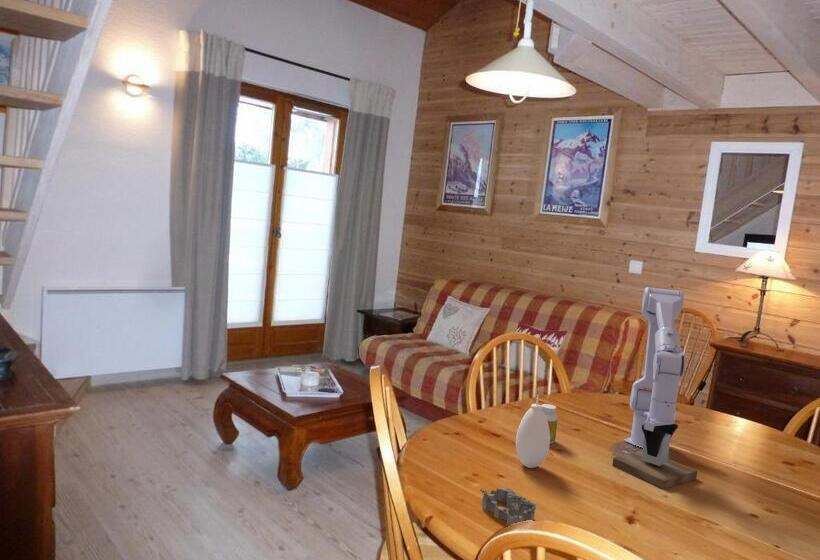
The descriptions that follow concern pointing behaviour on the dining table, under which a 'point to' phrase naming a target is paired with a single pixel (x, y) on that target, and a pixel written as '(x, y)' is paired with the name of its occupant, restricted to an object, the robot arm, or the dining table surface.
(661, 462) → the blue-grey block
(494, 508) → the grey hollow block
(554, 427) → the supplement bottle
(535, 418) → the sauce bottle
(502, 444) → the dining table surface
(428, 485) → the dining table surface
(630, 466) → the walnut board
